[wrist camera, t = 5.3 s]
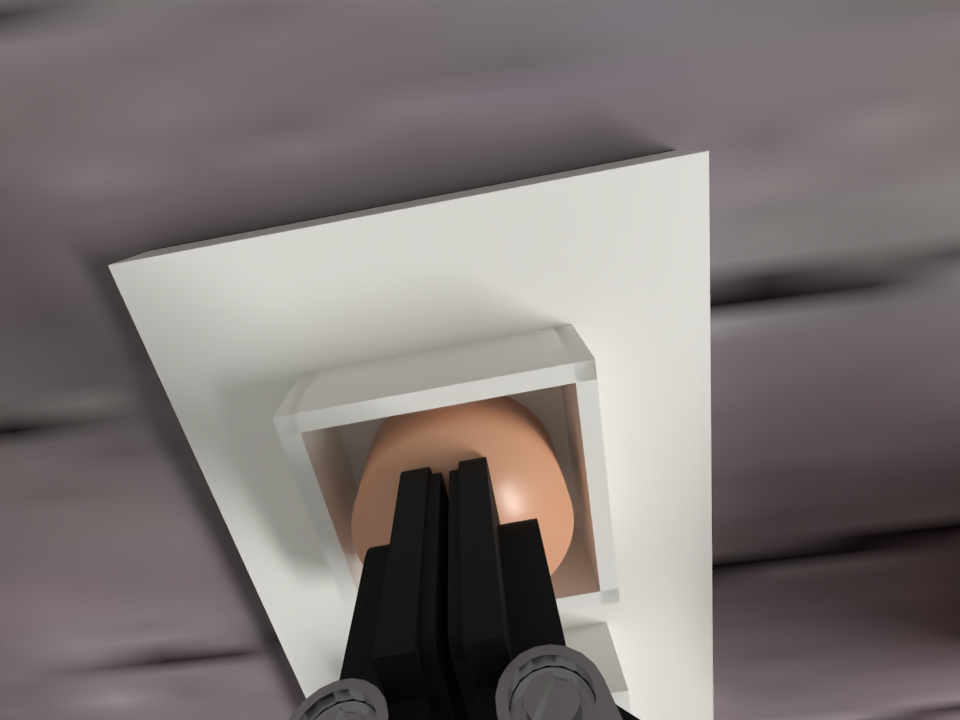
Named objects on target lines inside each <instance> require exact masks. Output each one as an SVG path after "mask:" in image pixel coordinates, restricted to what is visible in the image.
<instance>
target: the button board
mask: <svg viewBox="0 0 960 720" xmlns="http://www.w3.org/2000/svg"><path fill="white" fill-rule="evenodd" d="M108 267H109V269H110V271H111V273H112V276H113V278H114V280H115V282H116V284H117V286H118V289H119V291H120V293H121V295H122V297H123V300H124V302H125V304H126V306H127V308H128V311H129V313H130V315H131V317H132V319H133V321H134V324H135V326H136V328H137V330H138V332H139V335H140V337H141V339H142V341H143V343H144V345H145V348H146V350H147V352H148V354H149V356H150V359H151V361H152V363H153V365H154V367H155V370H156V372H157V374H158V376H159V378H160V380H161V383H162V385H163V387H164V389H165V391H166V394H167V396H168V398H169V400H170V402H171V404H172V407H173V409H174V411H175V413H176V415H177V418H178V420H179V422H180V424H181V426H182V429H183V431H184V433H185V435H186V437H187V439H188V442H189V444H190V446H191V448H192V450H193V453H194V455H195V457H196V459H197V461H198V463H199V466H200V468H201V470H202V472H203V474H204V477H205V479H206V481H207V483H208V485H209V488H210V490H211V492H212V494H213V496H214V498H215V501H216V503H217V505H218V507H219V509H220V512H221V514H222V516H223V518H224V520H225V522H226V525H227V527H228V529H229V531H230V533H231V536H232V538H233V540H234V542H235V544H236V547H237V549H238V551H239V553H240V555H241V557H242V560H243V562H244V564H245V566H246V568H247V571H248V573H249V575H250V577H251V579H252V582H253V584H254V586H255V588H256V590H257V592H258V595H259V597H260V599H261V601H262V603H263V606H264V608H265V610H266V612H267V614H268V616H269V619H270V621H271V623H272V625H273V627H274V630H275V632H276V634H277V636H278V638H279V641H280V643H281V645H282V647H283V649H284V651H285V654H286V656H287V658H288V660H289V662H290V665H291V667H292V669H293V671H294V673H295V675H296V678H297V680H298V682H299V684H300V686H301V689H302V691H303V693H304V695H305V697H306V698H308V697H309V696H310V695H312V694H313V693H314V692H316V691H317V690H318V689H319V688H321V687H324V686H326V685H328V684H330V683H332V682H334V681H338V680H339V679H340V674H341V670H342V665H343V660H344V655H345V650H346V646H347V641H348V636H349V631H350V626H351V622H352V617H353V612H354V607H355V603H356V598H357V593H358V588H359V583H360V579H361V574H362V569H363V564H362V563H361V561H360V559H359V557H358V555H357V552H356V550H355V547H354V543H353V539H352V530H351V522H352V512H353V508H354V504H355V500H356V497H357V493H358V489H359V486H360V482H361V478H362V475H363V471H364V468H365V464H366V460H367V457H368V453H369V449H370V446H371V444H372V441H373V439H374V436H375V435H376V433H377V431H378V430H379V428H380V426H381V425H382V424H383V423H384V422H385V420H386V419H387V418H388V417H389V416H395V415H401V414H406V413H412V412H417V411H423V410H428V409H434V408H439V407H445V406H450V405H456V404H461V403H467V402H472V401H478V400H483V399H489V398H494V397H500V396H505V395H506V396H508V397H510V398H512V399H514V400H516V401H518V402H519V403H520V404H522V405H523V406H525V407H526V408H527V409H529V410H530V411H531V412H532V413H533V414H534V415H535V416H536V417H537V418H538V420H539V421H540V422H541V423H542V425H543V426H544V428H545V429H546V431H547V433H548V435H549V437H550V439H551V442H552V444H553V447H554V450H555V453H556V456H557V459H558V462H559V465H560V468H561V471H562V474H563V478H564V481H565V484H566V487H567V490H568V493H569V496H570V499H571V503H572V507H573V515H574V527H573V535H572V539H571V542H570V546H569V548H568V550H567V553H566V555H565V557H564V558H563V560H562V562H561V563H560V565H559V566H558V568H557V569H556V570H555V571H554V573H553V574H552V575H551V581H552V585H553V590H554V594H555V599H556V603H557V607H558V612H559V616H560V621H561V625H562V629H563V634H564V638H565V643H566V646H567V647H569V648H572V649H574V650H576V651H579V652H581V653H582V654H584V655H585V656H586V657H587V658H588V659H590V660H591V661H592V662H593V663H594V664H595V665H596V667H597V668H598V670H599V671H600V673H601V674H602V676H603V677H604V679H605V682H606V684H607V686H608V688H609V690H610V693H611V695H612V697H613V699H614V701H615V704H616V705H618V706H620V707H621V708H623V709H624V710H626V711H627V712H629V713H630V714H632V715H633V716H635V717H637V718H638V719H640V720H713V620H712V492H711V365H710V238H709V151H699V150H675V151H670V152H665V153H659V154H654V155H649V156H644V157H639V158H633V159H628V160H623V161H618V162H612V163H607V164H602V165H597V166H591V167H586V168H581V169H576V170H570V171H565V172H560V173H555V174H549V175H544V176H539V177H534V178H529V179H523V180H518V181H513V182H508V183H502V184H497V185H492V186H487V187H481V188H476V189H471V190H466V191H460V192H455V193H450V194H445V195H439V196H434V197H429V198H424V199H419V200H413V201H408V202H403V203H398V204H392V205H387V206H382V207H377V208H371V209H366V210H361V211H356V212H350V213H345V214H340V215H335V216H329V217H324V218H319V219H314V220H309V221H303V222H298V223H293V224H288V225H282V226H277V227H272V228H267V229H261V230H256V231H251V232H246V233H240V234H235V235H230V236H225V237H219V238H214V239H209V240H204V241H199V242H193V243H188V244H183V245H178V246H172V247H167V248H162V249H157V250H151V251H147V252H144V253H141V254H139V255H136V256H133V257H130V258H127V259H124V260H122V261H119V262H116V263H113V264H110V265H108Z"/></svg>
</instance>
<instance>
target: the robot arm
mask: <svg viewBox="0 0 960 720" xmlns="http://www.w3.org/2000/svg"><path fill="white" fill-rule="evenodd" d="M458 466H459V469H457V470H451V471H449V499H448V495H447V491H446V487H445V483H444V479H443V476H442V473H441V472H440V473H434V474H432V471H431V469H430V467H425V468H420V469H414V470H409V471H403V472H401V474H400V480H399V486H398V493H397V499H396V506H395V512H394V519H393V525H392V532H391V538H390V544H387V545H381V546H375V547H370V548H369V549H368V550H367V552H366V556H365V559H364V564H363V569H362V574H361V579H360V583H359V588H358V593H357V598H356V603H355V607H354V612H353V617H352V622H351V626H350V631H349V636H348V641H347V646H346V650H345V655H344V660H343V665H342V670H341V674H340V679H339V680H338V681H334V682H332V683H330V684H328V685H326V686H324V687H321V688H319V689H318V690H317V691H316V692H314V693H313V694H312V695H310V696H309V697H308V698H306V699H305V700H304V701H303V702H302V703H301V705H300V706H299V707H298V708H297V709H296V710H295V711H294V713H293V714H292V715H291V717H290V719H289V720H640V719H638V718H637V717H635V716H633V715H632V714H630V713H629V712H627V711H626V710H624V709H623V708H621V707H620V706H618V705H616V704H615V701H614V699H613V697H612V695H611V693H610V690H609V688H608V686H607V684H606V682H605V679H604V677H603V676H602V674H601V673H600V671H599V670H598V668H597V667H596V665H595V664H594V663H593V662H592V661H591V660H590V659H588V658H587V657H586V656H585V655H584V654H582V653H581V652H579V651H576V650H574V649H572V648H569V647H567V646H566V643H565V638H564V634H563V629H562V625H561V621H560V616H559V612H558V607H557V603H556V599H555V594H554V590H553V585H552V581H551V576H550V572H549V568H548V563H547V559H546V554H545V550H544V546H543V541H542V537H541V532H540V528H539V524H538V520H537V518H534V519H529V520H523V521H517V522H512V523H506V524H500V521H499V516H498V511H497V506H496V501H495V496H494V492H493V487H492V482H491V477H490V472H489V467H488V462H487V458H486V457H481V458H476V459H470V460H465V461H459V465H458Z"/></svg>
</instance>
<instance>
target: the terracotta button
mask: <svg viewBox="0 0 960 720" xmlns="http://www.w3.org/2000/svg"><path fill="white" fill-rule="evenodd" d="M481 457H486V458H487V462H488V467H489V472H490V477H491V482H492V487H493V492H494V496H495V501H496V506H497V511H498V516H499V521H500V524H506V523H512V522H517V521H523V520H529V519H534V518H537V520H538V524H539V528H540V532H541V537H542V541H543V546H544V550H545V554H546V559H547V563H548V568H549V572H550V576H551V575H552V574H553V573H554V571H555V570H556V569H557V568H558V566H559V565H560V563H561V562H562V560H563V558H564V557H565V555H566V553H567V550H568V548H569V546H570V542H571V539H572V535H573V527H574V515H573V507H572V503H571V499H570V496H569V493H568V490H567V487H566V484H565V481H564V478H563V474H562V471H561V468H560V465H559V462H558V459H557V456H556V453H555V450H554V447H553V444H552V442H551V439H550V437H549V435H548V433H547V431H546V429H545V428H544V426H543V425H542V423H541V422H540V421H539V420H538V418H537V417H536V416H535V415H534V414H533V413H532V412H531V411H530V410H529V409H527V408H526V407H525V406H523V405H522V404H520V403H519V402H518V401H516V400H514V399H512V398H510V397H508V396H506V395H505V396H500V397H494V398H489V399H483V400H478V401H472V402H467V403H461V404H456V405H450V406H445V407H439V408H434V409H428V410H423V411H417V412H412V413H406V414H401V415H395V416H389V417H388V418H387V419H386V420H385V422H384V423H383V424H382V425H381V426H380V428H379V430H378V431H377V433H376V435H375V436H374V439H373V441H372V444H371V446H370V449H369V453H368V457H367V460H366V464H365V468H364V471H363V475H362V478H361V482H360V486H359V489H358V493H357V497H356V500H355V504H354V508H353V512H352V522H351V530H352V539H353V543H354V547H355V550H356V552H357V555H358V557H359V559H360V561H361V563H362V564H364V559H365V556H366V552H367V550H368V549H369V548H370V547H375V546H381V545H387V544H390V538H391V532H392V525H393V519H394V512H395V506H396V499H397V493H398V486H399V480H400V474H401V472H403V471H409V470H414V469H420V468H425V467H430V469H431V471H432V474H434V473H440V472H441V473H442V476H443V479H444V483H445V487H446V491H447V495H448V499H449V471H451V470H457V469H459V466H458V465H459V461H465V460H470V459H476V458H481Z"/></svg>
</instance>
